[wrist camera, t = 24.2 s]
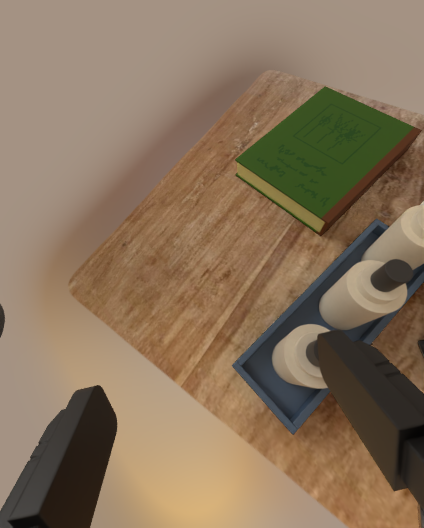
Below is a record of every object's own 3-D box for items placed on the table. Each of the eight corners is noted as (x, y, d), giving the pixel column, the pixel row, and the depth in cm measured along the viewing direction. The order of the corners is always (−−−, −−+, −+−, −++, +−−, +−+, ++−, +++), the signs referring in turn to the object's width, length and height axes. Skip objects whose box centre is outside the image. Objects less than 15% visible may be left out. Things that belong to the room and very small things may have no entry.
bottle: (296, 395, 31) (336, 409, 18) (262, 359, 33) (276, 349, 20) (326, 361, 32) (383, 353, 19) (291, 328, 34) (321, 301, 21)
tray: (289, 430, 30) (293, 435, 27) (232, 366, 33) (231, 365, 31) (428, 267, 36) (442, 260, 33) (368, 227, 39) (376, 218, 37)
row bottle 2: (345, 339, 33) (411, 316, 20) (310, 308, 35) (350, 270, 22) (371, 309, 34) (450, 270, 21) (336, 281, 36) (388, 230, 23)
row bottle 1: (388, 290, 35) (474, 241, 22) (352, 264, 37) (412, 204, 24) (412, 263, 36) (507, 202, 23) (376, 239, 38) (445, 170, 25)
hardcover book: (321, 236, 40) (328, 223, 36) (235, 175, 46) (235, 159, 43) (410, 146, 45) (424, 128, 41) (321, 103, 51) (327, 84, 48)
